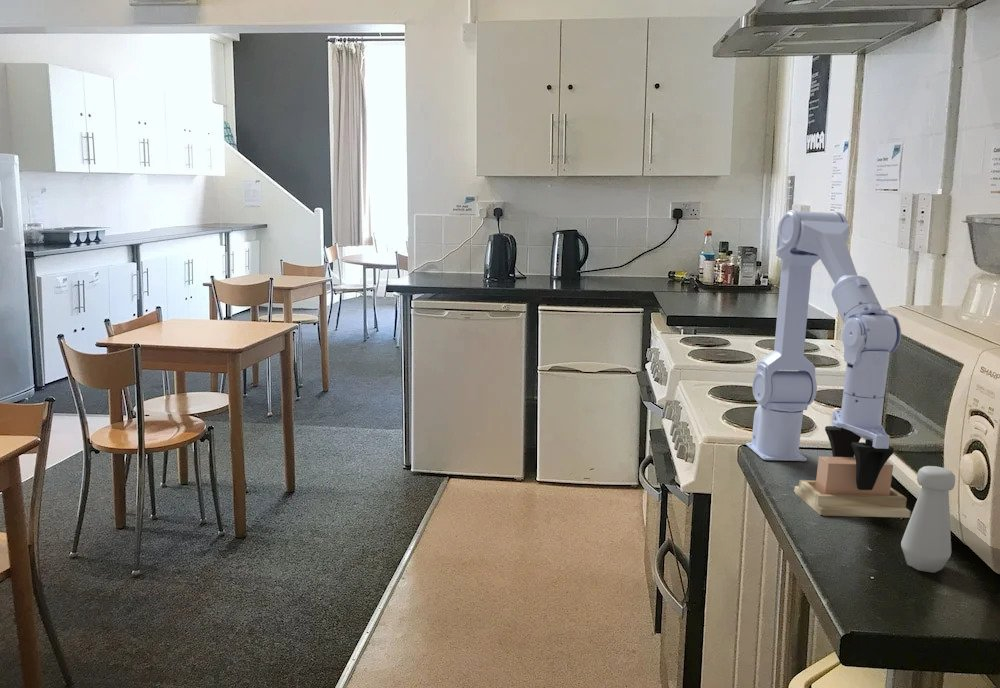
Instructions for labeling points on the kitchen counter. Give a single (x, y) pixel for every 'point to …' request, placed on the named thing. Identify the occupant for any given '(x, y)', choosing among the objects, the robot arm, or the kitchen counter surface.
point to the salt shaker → (930, 521)
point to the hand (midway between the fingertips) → (852, 480)
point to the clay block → (848, 477)
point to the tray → (852, 503)
